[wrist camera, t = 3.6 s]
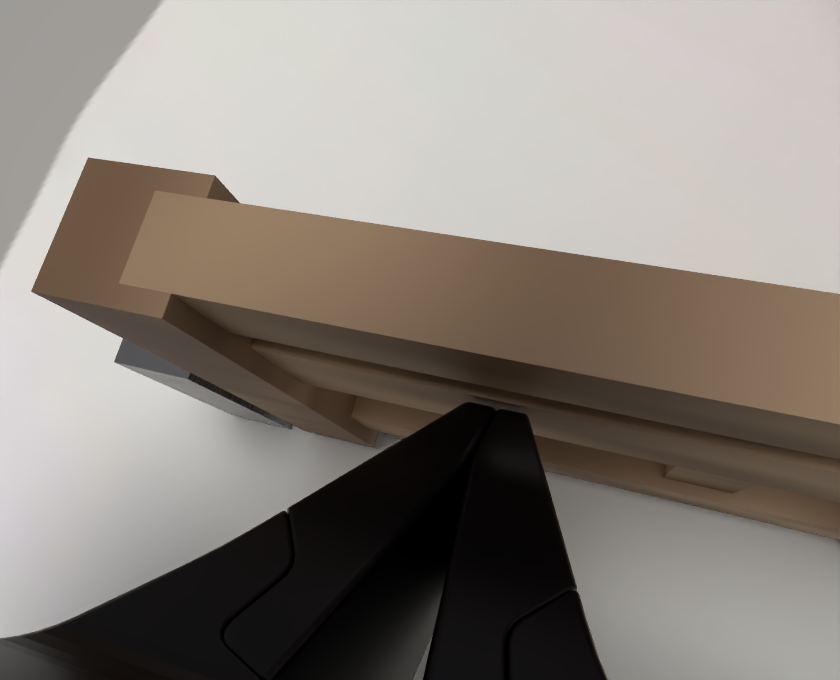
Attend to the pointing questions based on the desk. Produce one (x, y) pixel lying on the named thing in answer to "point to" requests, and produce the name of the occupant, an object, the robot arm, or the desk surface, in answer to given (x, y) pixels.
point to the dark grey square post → (191, 384)
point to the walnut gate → (469, 339)
